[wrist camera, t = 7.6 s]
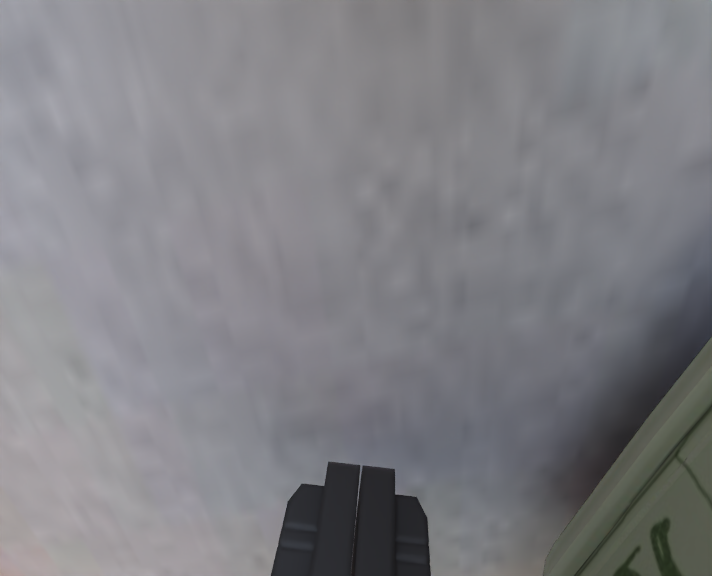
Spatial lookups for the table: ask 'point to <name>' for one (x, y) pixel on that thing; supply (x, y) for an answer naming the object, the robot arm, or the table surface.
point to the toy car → (651, 494)
